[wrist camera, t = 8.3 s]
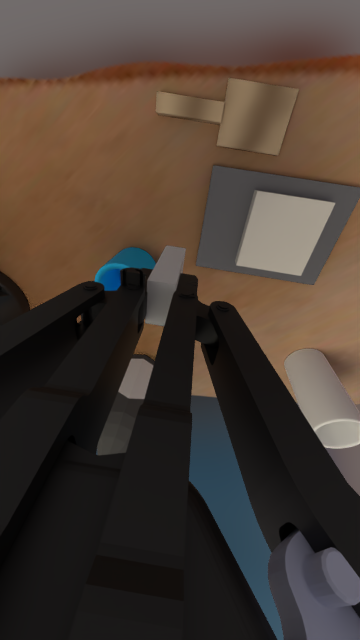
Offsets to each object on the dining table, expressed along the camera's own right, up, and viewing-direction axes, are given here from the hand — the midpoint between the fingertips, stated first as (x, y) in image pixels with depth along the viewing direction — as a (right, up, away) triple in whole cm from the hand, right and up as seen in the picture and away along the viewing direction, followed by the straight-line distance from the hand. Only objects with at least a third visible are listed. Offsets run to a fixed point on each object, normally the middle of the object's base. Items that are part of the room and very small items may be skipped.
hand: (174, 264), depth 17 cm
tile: (+10, +9, +15) cm, 20 cm away
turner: (+6, +21, +10) cm, 24 cm away
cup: (+28, -14, +30) cm, 43 cm away
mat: (+14, +9, +16) cm, 24 cm away
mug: (-8, +3, +24) cm, 26 cm away
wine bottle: (-9, -16, +37) cm, 41 cm away
